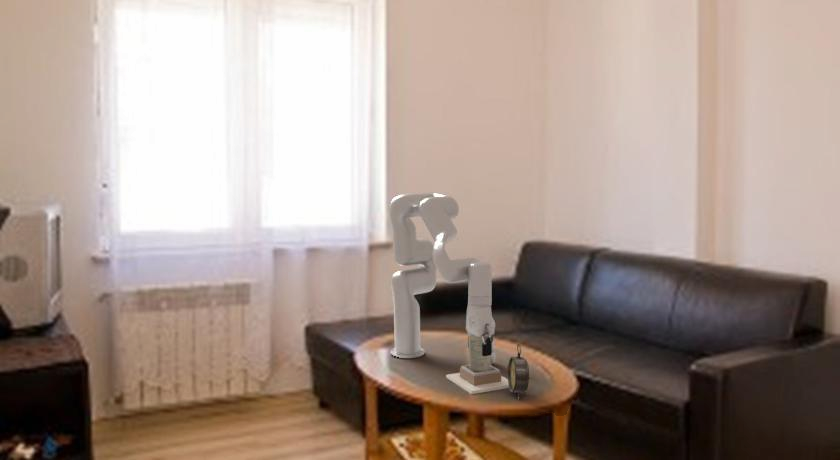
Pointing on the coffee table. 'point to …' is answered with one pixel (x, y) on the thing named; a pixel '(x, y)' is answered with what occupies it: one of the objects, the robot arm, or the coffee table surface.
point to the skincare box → (477, 354)
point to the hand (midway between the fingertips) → (479, 351)
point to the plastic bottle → (493, 356)
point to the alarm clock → (518, 374)
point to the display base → (480, 387)
